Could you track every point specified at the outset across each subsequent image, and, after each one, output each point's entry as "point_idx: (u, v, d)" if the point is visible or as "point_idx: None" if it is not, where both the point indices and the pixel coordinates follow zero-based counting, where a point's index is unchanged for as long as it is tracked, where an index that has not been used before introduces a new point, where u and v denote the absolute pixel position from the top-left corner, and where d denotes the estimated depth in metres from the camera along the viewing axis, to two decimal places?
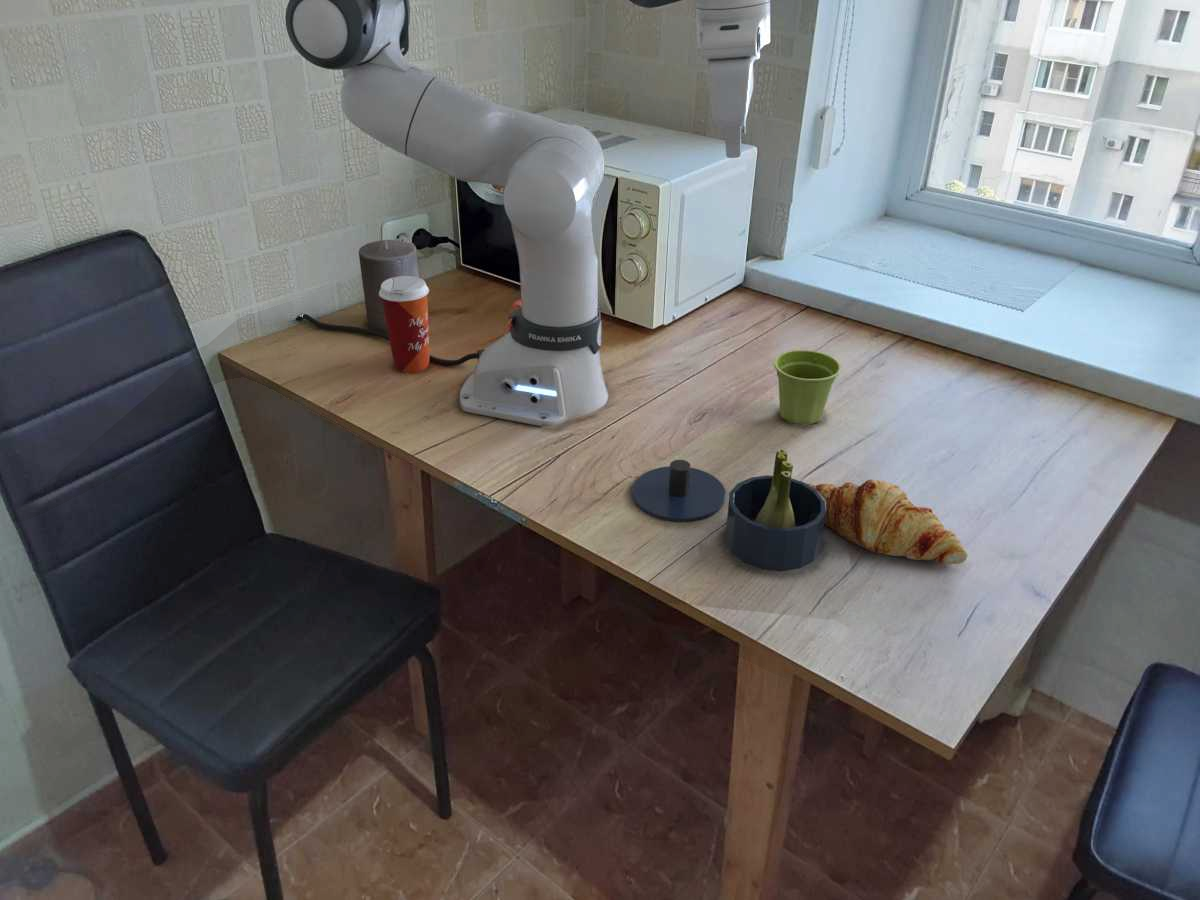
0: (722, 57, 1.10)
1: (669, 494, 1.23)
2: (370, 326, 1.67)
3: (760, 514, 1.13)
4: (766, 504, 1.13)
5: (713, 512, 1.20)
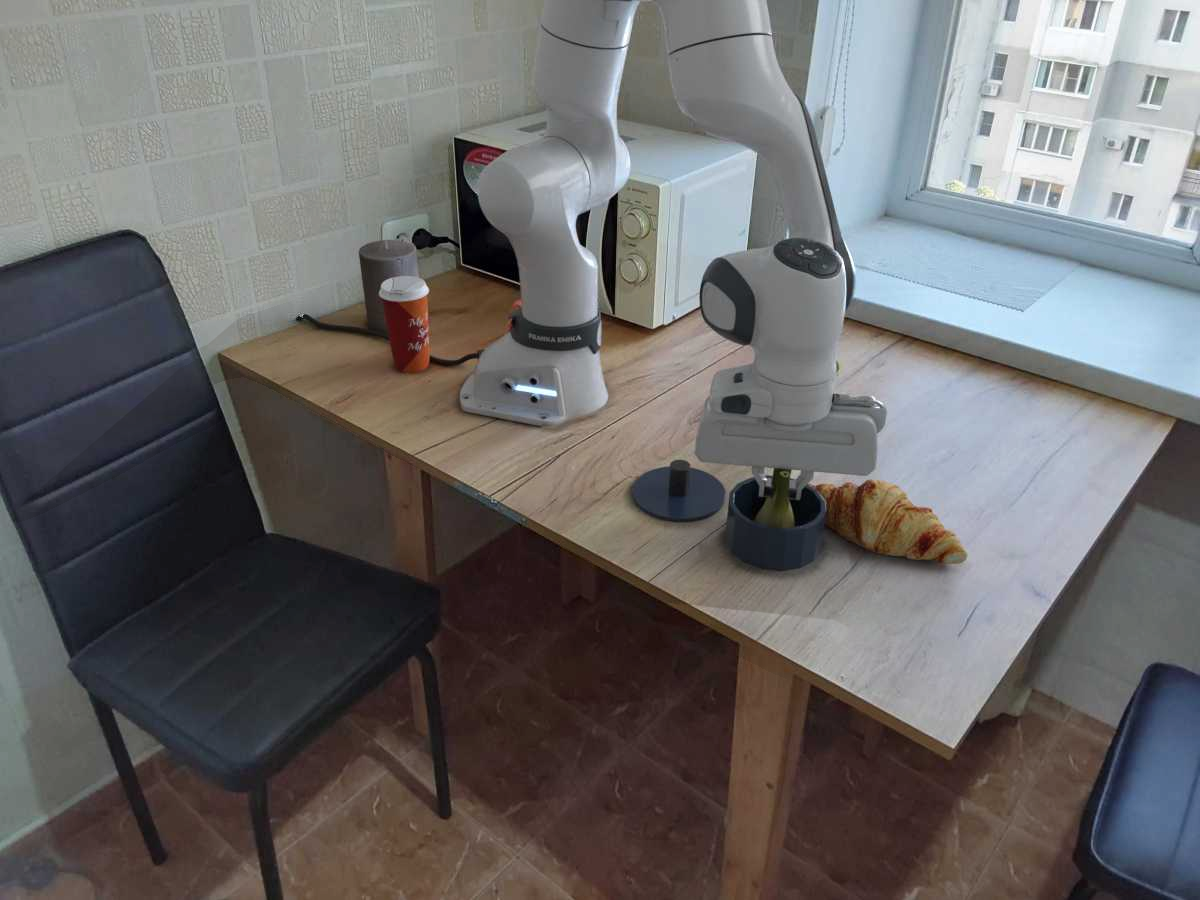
0: None
1: (669, 494, 1.23)
2: (370, 326, 1.67)
3: (759, 514, 1.13)
4: (765, 504, 1.13)
5: (713, 512, 1.20)
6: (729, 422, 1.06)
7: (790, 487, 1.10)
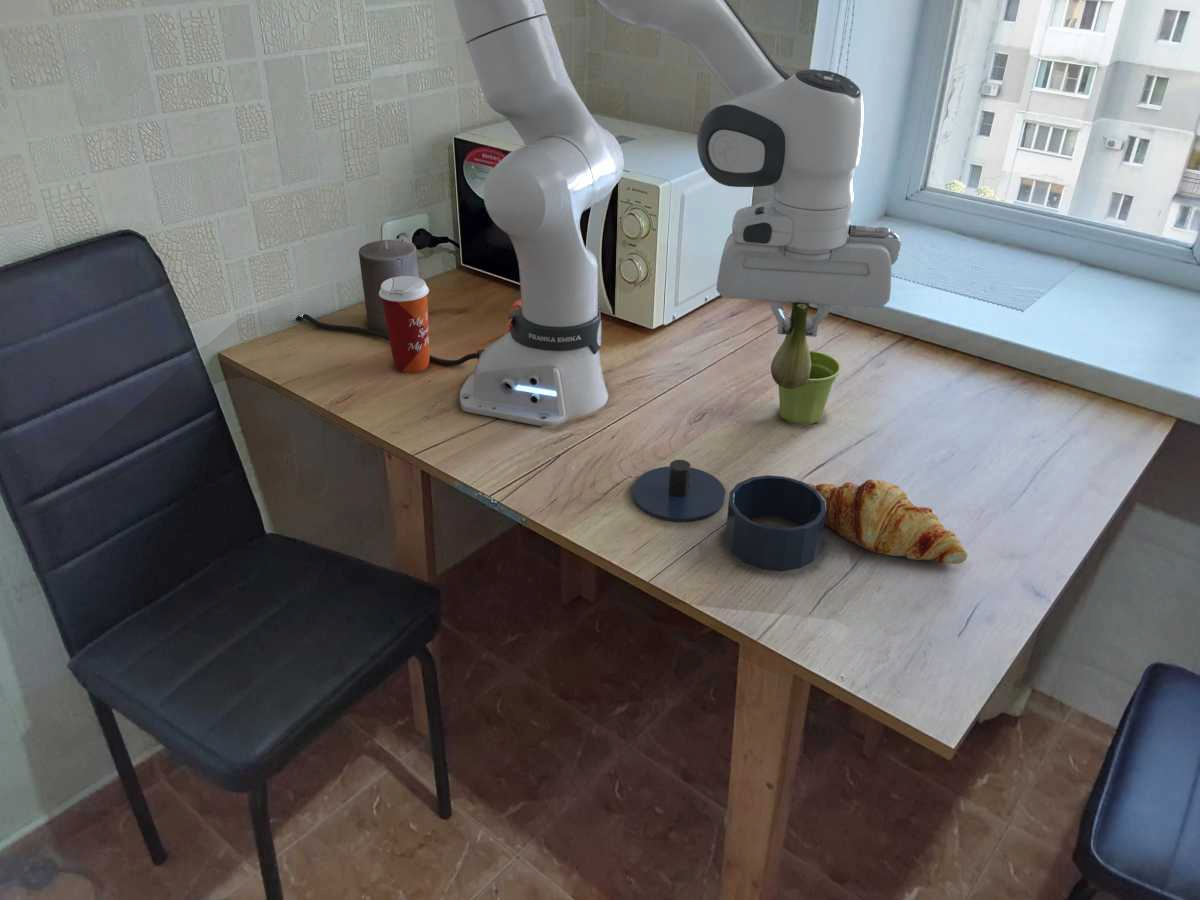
0: None
1: (669, 494, 1.23)
2: (370, 326, 1.67)
3: (777, 352, 1.19)
4: (783, 342, 1.18)
5: (713, 512, 1.20)
6: (750, 254, 1.11)
7: (807, 323, 1.16)
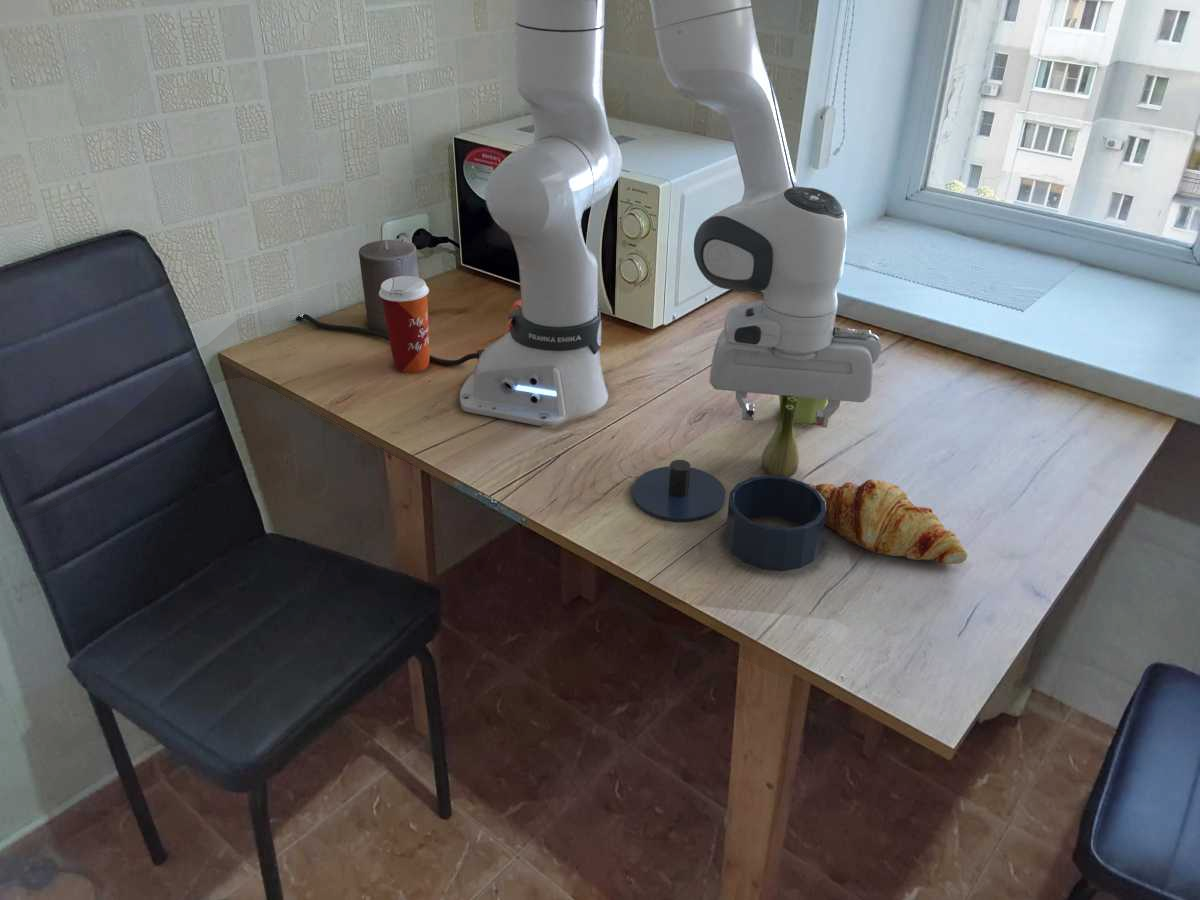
0: None
1: (669, 494, 1.23)
2: (370, 326, 1.67)
3: (767, 445, 1.27)
4: (773, 436, 1.26)
5: (713, 512, 1.20)
6: (741, 352, 1.19)
7: (818, 415, 1.23)
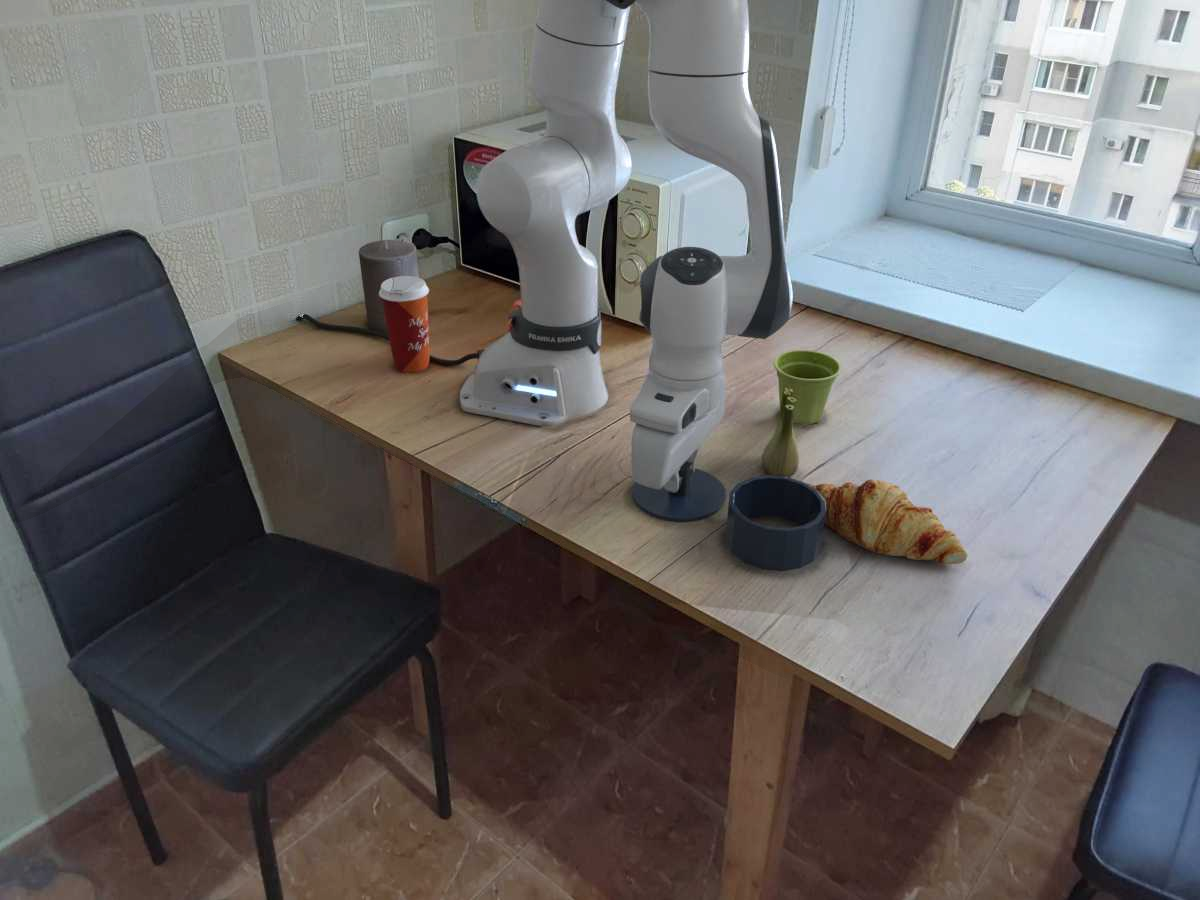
0: (647, 426, 1.10)
1: (669, 494, 1.23)
2: (370, 326, 1.67)
3: (767, 445, 1.27)
4: (773, 436, 1.26)
5: (713, 512, 1.20)
6: None
7: None
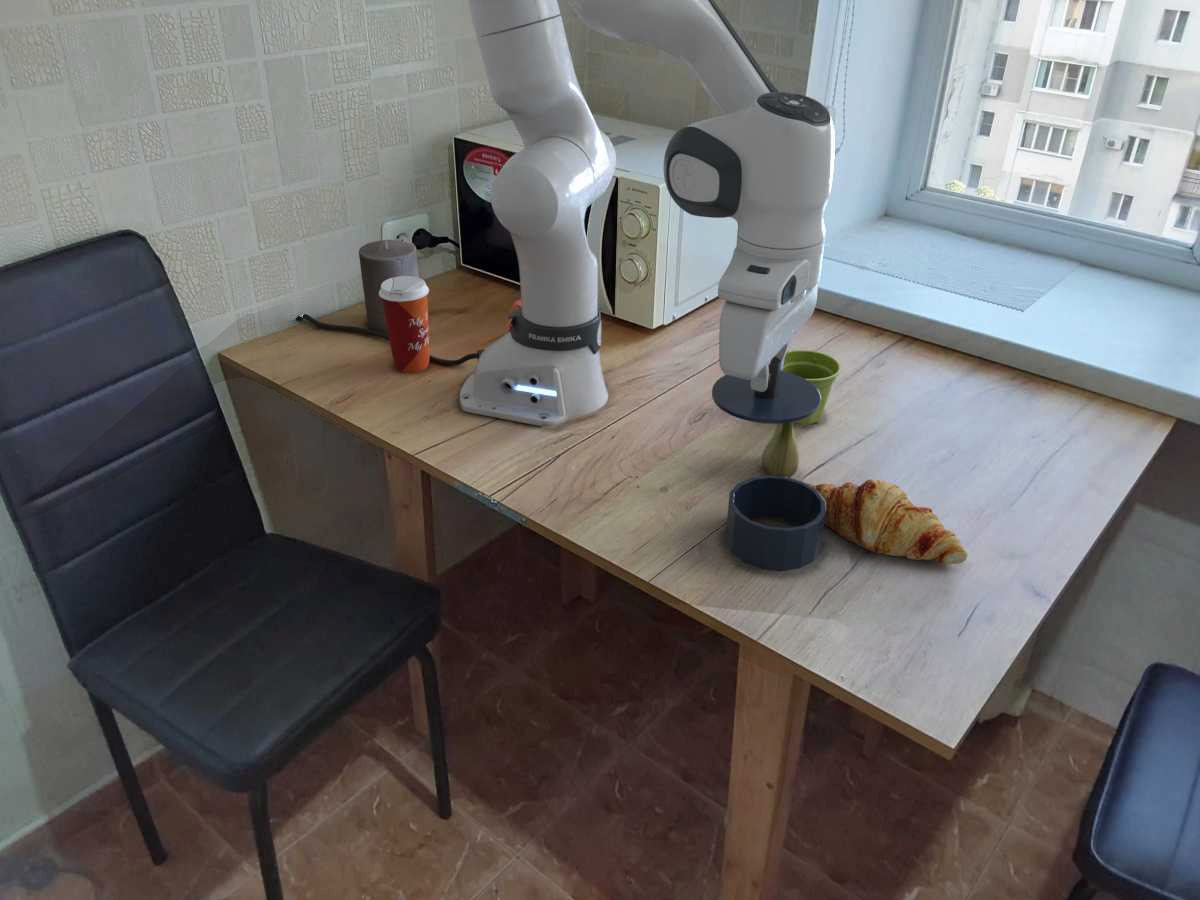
0: (739, 303, 0.94)
1: (755, 396, 1.06)
2: (370, 326, 1.67)
3: (767, 445, 1.27)
4: (773, 436, 1.26)
5: (809, 414, 1.04)
6: None
7: None
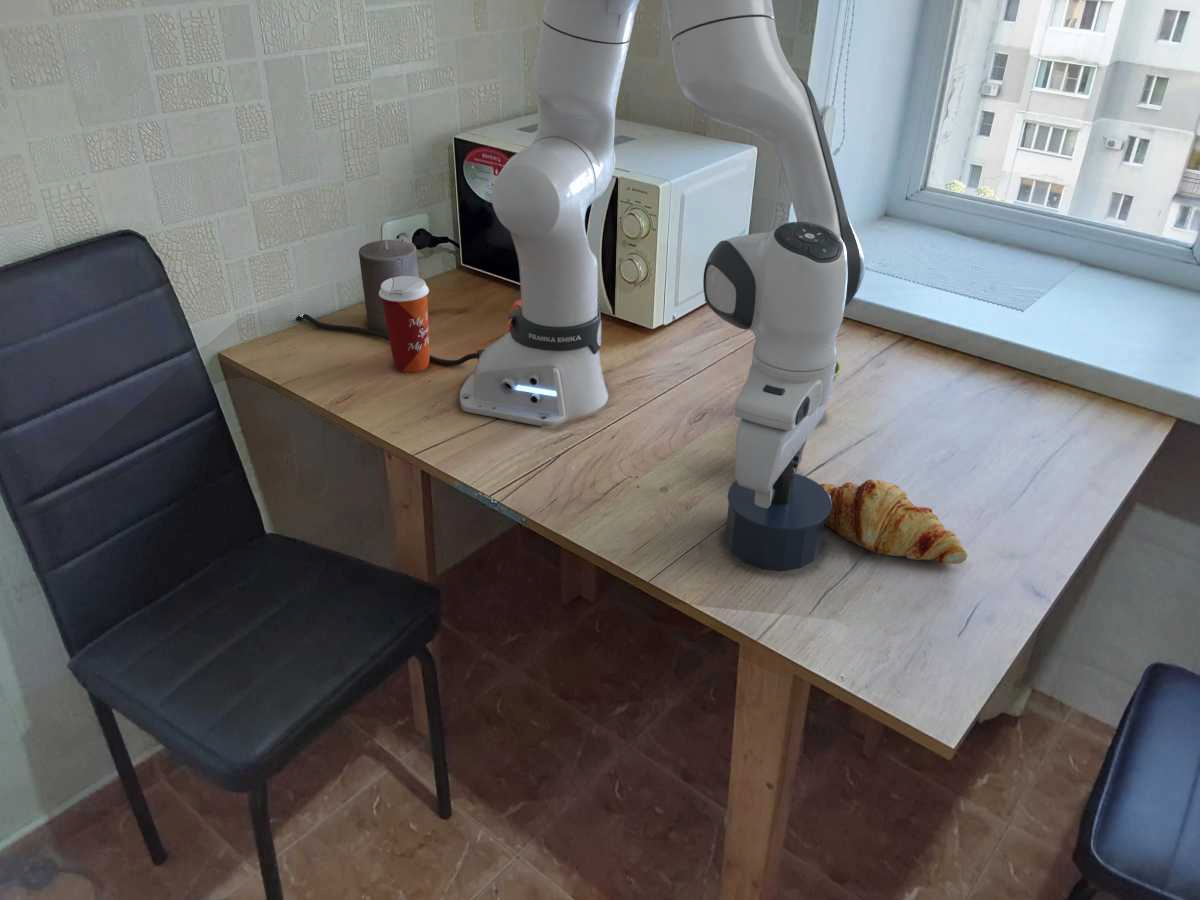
0: (755, 422, 0.99)
1: None
2: (370, 326, 1.67)
3: None
4: None
5: (821, 522, 1.09)
6: None
7: (798, 455, 1.13)
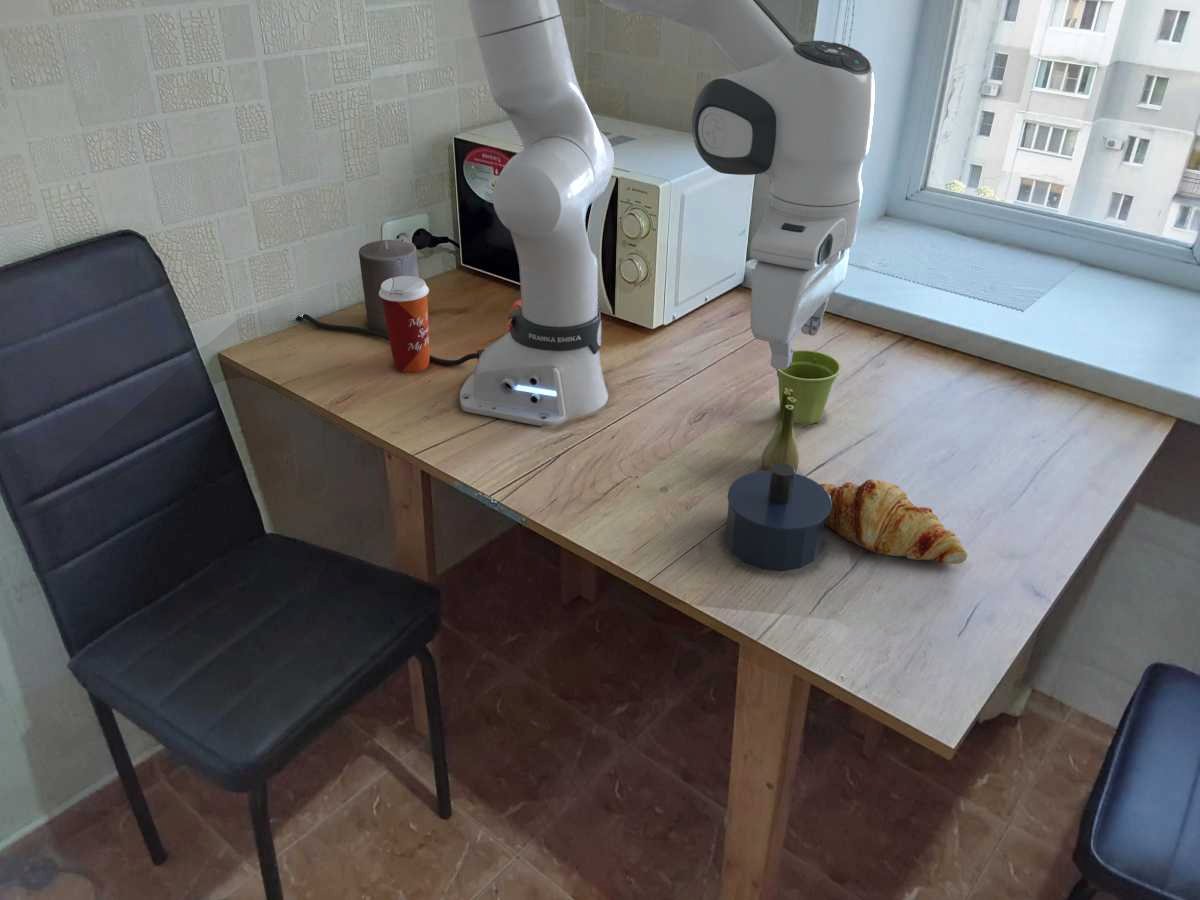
0: (773, 263, 0.90)
1: (770, 501, 1.12)
2: (370, 326, 1.67)
3: (767, 445, 1.27)
4: (773, 436, 1.26)
5: (821, 522, 1.09)
6: None
7: (817, 320, 1.04)
